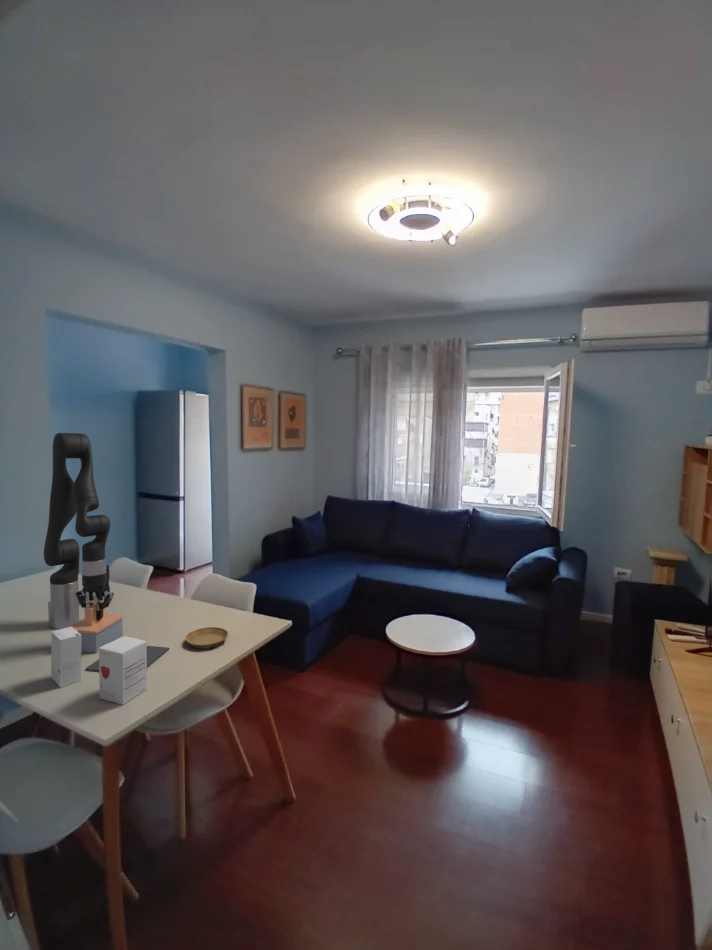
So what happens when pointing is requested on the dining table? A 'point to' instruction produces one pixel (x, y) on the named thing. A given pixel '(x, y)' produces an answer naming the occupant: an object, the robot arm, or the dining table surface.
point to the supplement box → (123, 669)
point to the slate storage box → (101, 637)
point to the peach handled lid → (95, 621)
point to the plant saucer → (206, 637)
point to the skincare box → (66, 656)
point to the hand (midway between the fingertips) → (95, 619)
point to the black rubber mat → (152, 656)
